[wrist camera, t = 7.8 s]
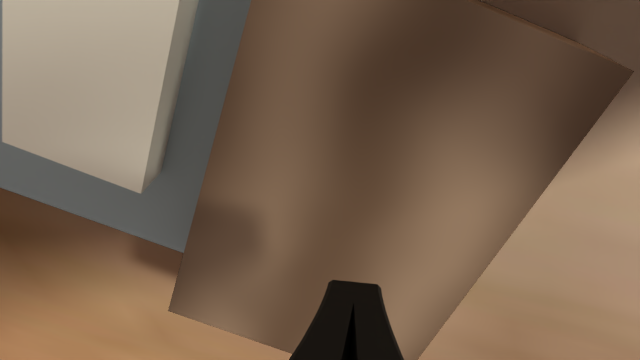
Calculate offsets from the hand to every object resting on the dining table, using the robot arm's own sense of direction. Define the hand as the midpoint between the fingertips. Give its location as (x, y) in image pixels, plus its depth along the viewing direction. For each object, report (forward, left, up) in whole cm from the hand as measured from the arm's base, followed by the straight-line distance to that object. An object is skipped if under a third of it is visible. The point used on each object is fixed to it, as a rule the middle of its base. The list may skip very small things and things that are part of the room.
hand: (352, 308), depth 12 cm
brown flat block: (0, 0, -9) cm, 9 cm away
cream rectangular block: (+12, -1, -6) cm, 13 cm away
